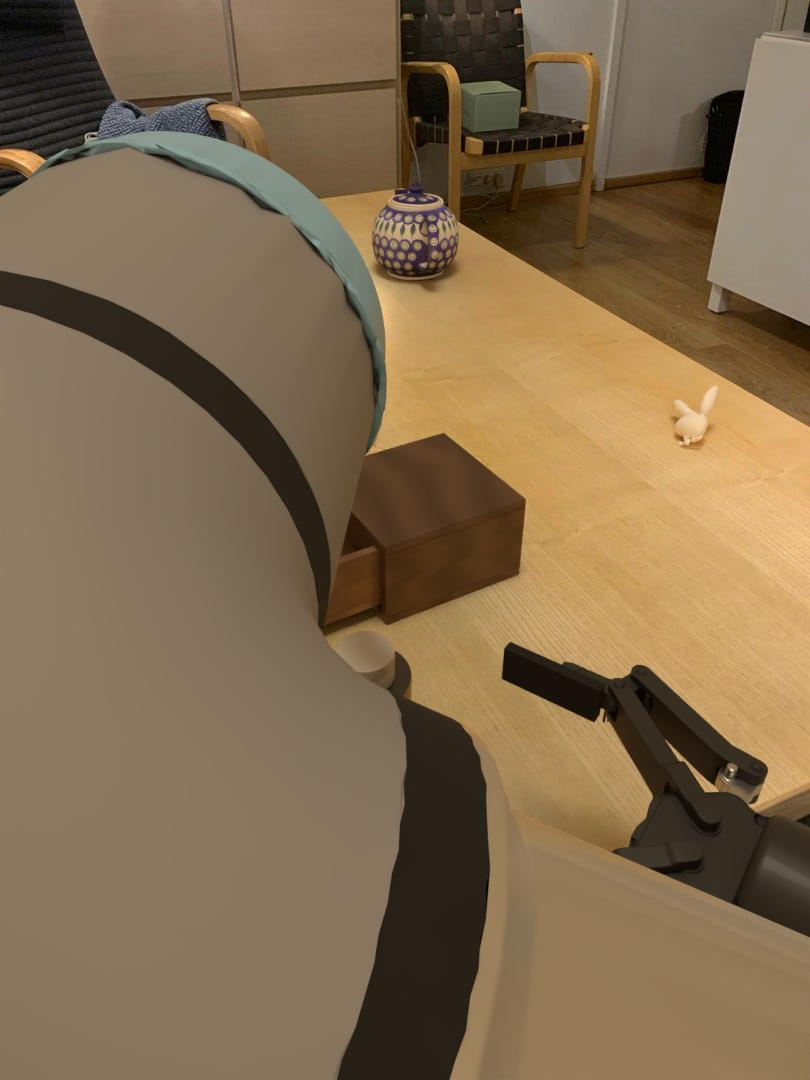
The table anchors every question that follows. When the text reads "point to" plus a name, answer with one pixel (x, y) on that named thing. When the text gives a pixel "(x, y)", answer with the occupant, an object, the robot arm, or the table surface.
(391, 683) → the thermos bottle
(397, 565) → the cabinet
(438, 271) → the teapot
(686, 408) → the rabbit figurine
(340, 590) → the drawer
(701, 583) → the table surface
